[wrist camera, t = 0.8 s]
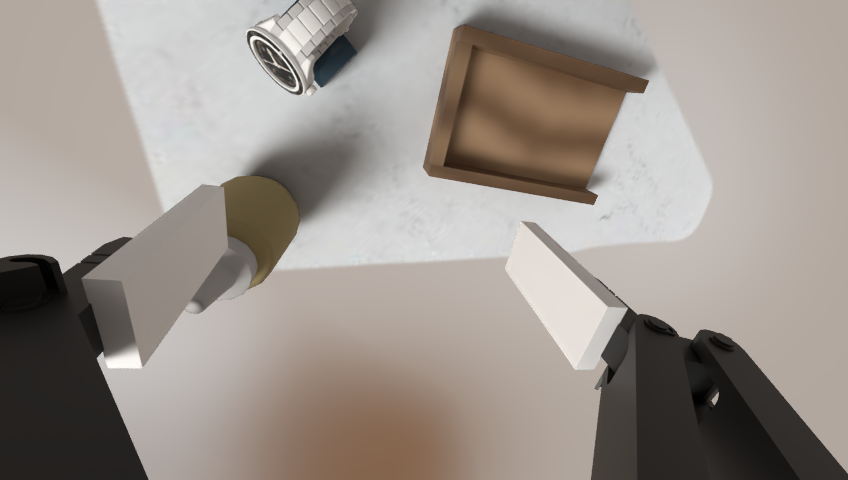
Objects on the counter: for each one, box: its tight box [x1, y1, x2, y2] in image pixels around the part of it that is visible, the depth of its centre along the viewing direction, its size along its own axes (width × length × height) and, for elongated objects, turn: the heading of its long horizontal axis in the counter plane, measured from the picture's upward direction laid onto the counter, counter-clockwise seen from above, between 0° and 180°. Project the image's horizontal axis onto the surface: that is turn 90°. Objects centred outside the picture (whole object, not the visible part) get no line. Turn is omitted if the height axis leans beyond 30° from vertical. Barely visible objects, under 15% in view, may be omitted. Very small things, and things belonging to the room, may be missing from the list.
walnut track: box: [423, 25, 649, 205], centre depth 36 cm, size 13×20×4 cm
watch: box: [246, 0, 358, 96], centre depth 26 cm, size 6×8×11 cm
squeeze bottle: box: [185, 176, 300, 314], centre depth 28 cm, size 8×8×18 cm
